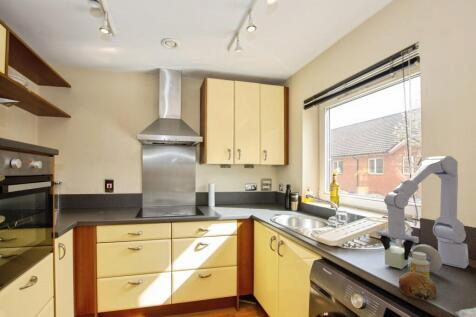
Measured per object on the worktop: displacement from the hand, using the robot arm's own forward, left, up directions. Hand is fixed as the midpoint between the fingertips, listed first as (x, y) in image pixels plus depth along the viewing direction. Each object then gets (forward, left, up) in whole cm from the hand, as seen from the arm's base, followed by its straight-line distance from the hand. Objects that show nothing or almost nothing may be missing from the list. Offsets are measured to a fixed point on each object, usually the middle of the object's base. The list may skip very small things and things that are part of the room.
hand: (397, 257), depth 104 cm
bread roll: (-12, +20, -4) cm, 24 cm away
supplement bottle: (-10, +10, -4) cm, 14 cm away
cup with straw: (+5, -24, -4) cm, 25 cm away
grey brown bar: (0, -18, -3) cm, 19 cm away
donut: (-9, -3, -4) cm, 10 cm away
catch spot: (0, -12, -3) cm, 13 cm away
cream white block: (0, 0, -2) cm, 3 cm away
